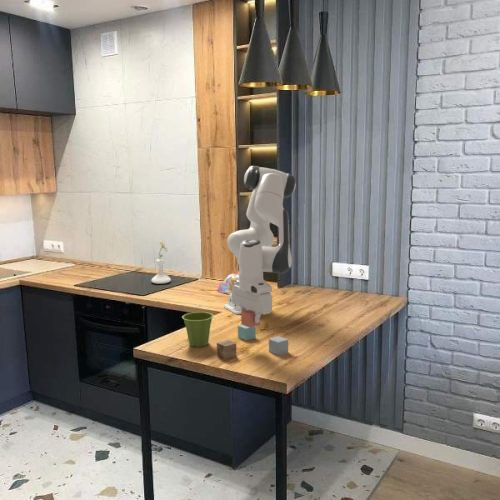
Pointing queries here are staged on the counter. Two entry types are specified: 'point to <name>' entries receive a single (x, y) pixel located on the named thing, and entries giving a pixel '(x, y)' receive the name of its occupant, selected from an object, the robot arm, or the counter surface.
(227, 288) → the candy landscape model
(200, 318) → the plant pot
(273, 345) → the slate grey block
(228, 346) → the walnut block
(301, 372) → the counter surface
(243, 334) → the muted teal block
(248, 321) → the brick-red block
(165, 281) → the flower in vase
